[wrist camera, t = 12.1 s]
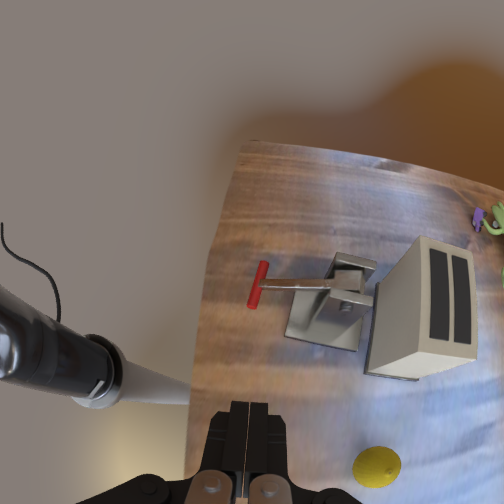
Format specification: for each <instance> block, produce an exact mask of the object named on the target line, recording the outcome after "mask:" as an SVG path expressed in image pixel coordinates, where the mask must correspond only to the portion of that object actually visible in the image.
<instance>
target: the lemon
mask: <svg viewBox="0 0 504 504" xmlns="http://www.w3.org/2000/svg"><path fill="white" fill-rule="evenodd" d="M352 470H353V475H354V477H355V479H356V480H357V481H358V483H360V484H361V485H363V486H365V487H369V488H381V487H384V486H387V485H389V484H390V483H392V482H393V481H394V480H395V479H396V478H397V476H398V475H399V473H400V470H401V461H400V458H399V456H398V455H397V453H395V452H394V451H393V450H392V449H389V448H387V447H381V446H377V447H371V448H368V449H366V450H364V451H363V452H361V453H360V454H359V455H358V456H357V458H356V459H355V461H354V464H353V468H352Z"/></svg>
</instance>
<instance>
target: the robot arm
mask: <svg viewBox="0 0 504 504" xmlns="http://www.w3.org/2000/svg"><path fill="white" fill-rule="evenodd" d="M1 240H2V244H3V247H4V248H5V250H6V251H7V252H8V253H9V254H11V255H12V256H13V257H15V258H16V259H18V260H19V261H21V262H24V263H26V264H28V265H30V266H32V267H33V268H35V269H37V270H38V271H40V272H41V273H43V274H44V275H46V276H47V277H48V279H49V280H50V282H51V284H52V287H53V289H54V293H55V297H56V302H57V320H56V321H55V320H53V319H52V318H50V317H48V316H47V315H45V314H43V313H41V312H40V311H38V310H37V309H35V308H34V307H32V306H31V305H29V304H27V303H26V302H24V301H23V300H21V299H20V298H18V297H17V296H15V295H14V294H12V293H11V292H10V291H8V290H7V289H5V288H4V287H2V286H1V285H0V380H1V381H3V382H7V383H10V384H14V385H18V386H22V387H26V388H30V389H35V390H39V391H44V392H49V393H54V394H59V395H65V396H71V397H76V398H82V399H86V400H98V399H100V398H102V397H104V396H105V395H106V394H107V393H108V392H109V391H110V390H111V388H112V386H113V384H114V380H115V365H114V361H113V358H112V356H111V354H110V353H109V352H108V350H107V349H106V348H105V347H104V346H102V345H100V344H99V343H96V342H94V341H91V340H89V339H88V338H86V337H84V336H82V335H80V334H78V333H76V332H74V331H73V330H71V329H69V328H67V327H66V326H63V325H62V324H60V319H61V305H60V298H59V293H58V290H57V287H56V284H55V282H54V280H53V278H52V276H51V275H50V274H49V273H48V272H47V271H45V270H44V269H42V268H40V267H39V266H37V265H35V264H34V263H32V262H30V261H28V260H26V259H23V258H21V257H19V256H17V255H16V254H14V253H13V252H12V251H10V250H9V249H8V247H7V246H6V244H5V241H4V237H3V223H1ZM248 414H249V402H241V401H232V402H231V407H230V412H220V411H218V412H217V413H216V414H215V415H214V417H213V418H212V419H211V422H210V426H209V431H208V435H207V440H206V444H205V448H204V453H203V457H202V462H201V466H200V469H199V471H198V472H197V473H196V474H195V475H194V476H192V477H191V478H188V479H185V480H179V481H165V480H164V479H163V478H161V477H159V476H157V475H154V474H143V475H140V476H137V477H135V478H133V479H131V480H129V481H127V482H125V483H123V484H121V485H119V486H116V487H114V488H113V489H110V490H108V491H106V492H103V493H101V494H99V495H96V496H94V497H91V498H89V499H86V500H84V501H81V502H79V503H76V504H235V501H236V497H241V496H242V485H243V475H244V491H243V498H248V504H362V503H361V502H359V501H358V500H357V499H355V498H354V497H352V496H351V495H350V494H348V493H347V492H345V491H344V490H341V489H338V488H328V489H324V490H322V491H320V492H315V491H311V490H306V489H302V488H300V487H298V486H296V485H295V484H293V483H292V481H291V480H290V479H289V476H288V470H287V445H286V424H285V423H284V421H283V419H282V418H281V416H280V415H268V403H257V402H251V404H250V415H249V427H248ZM247 430H248V439H247ZM246 442H247V450H246ZM245 453H246V461H245ZM244 464H245V473H244Z"/></svg>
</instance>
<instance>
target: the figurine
mask: <svg viewBox="0 0 504 504" xmlns="http://www.w3.org/2000/svg"><path fill="white" fill-rule="evenodd" d="M497 205H498V207H497V206H495V205H493V206H492V207H491V208H492V212H493V215H494V217H495V219H496V220H495V221H494V222H493V224H492V225H493V226H494V227H495V228H497V227H498V226H499V227H500V229H492V228H491V227H490V226H489V225H488V223H487V222H486V220H485V219H484V217H486V216H487V213H486V212H485V211H484V210H482V209H479V208H477V207H476V210H475V214H474V217H473V221H472V224H473V225H474V226H475V231H477V232H478V231H481V227H480V226H483V225H484V226H485V227H486V229H487V230H488V232H490V233H491V234H493V235H500V234H504V206H503V205H502V203H501V202H497ZM501 277H502V286H503V288H504V267H503V268H502V271H501Z"/></svg>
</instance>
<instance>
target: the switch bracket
mask: <svg viewBox="0 0 504 504" xmlns="http://www.w3.org/2000/svg"><path fill="white" fill-rule="evenodd" d="M358 270H361V271H362V273H363V276H364V279H365V283H366V282H367V281H368V279H369V278H370V277H371V275H372V274H373V273H374V272H375V270H376V261H373V260H369V259H365V258H361V257H357V256H353V255H349V254H345V253H340V252H336V255H335V257H334V259H333V261H332V263H331V265H330V267H329V269H328V271H327V273H326V275H325V277H324V279H334V278H335V272H336V271H358ZM373 298H374V297H371V296H367V295H363V294H358V293H354V292H350V291H345V290H341V289H337V288H333V287H331V289H330V290H329V292H304V291H295V294H294V299H293V303H292V307H291V311H290V315H289V319H288V323H287V327H286V331H285V335H284V337H287V338H291V339H295V340H299V341H304V342H308V343H313V344H317V345H322V346H326V347H331V348H336V349H341V350H346V351H351V352H357V351H358V346H359V340H360V333H361V327H362V320H363V315H364V314H365V313H366V312H367V311H368V310H369V309H370V308H371V307H372V306H373Z"/></svg>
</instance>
